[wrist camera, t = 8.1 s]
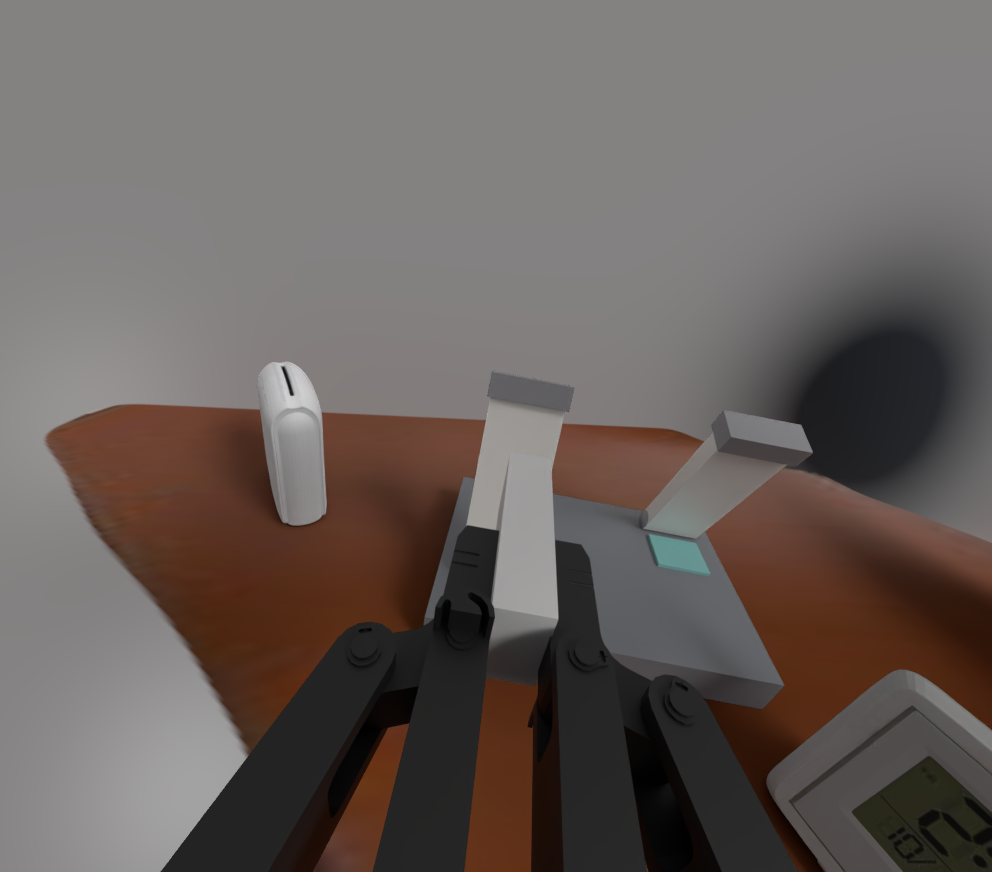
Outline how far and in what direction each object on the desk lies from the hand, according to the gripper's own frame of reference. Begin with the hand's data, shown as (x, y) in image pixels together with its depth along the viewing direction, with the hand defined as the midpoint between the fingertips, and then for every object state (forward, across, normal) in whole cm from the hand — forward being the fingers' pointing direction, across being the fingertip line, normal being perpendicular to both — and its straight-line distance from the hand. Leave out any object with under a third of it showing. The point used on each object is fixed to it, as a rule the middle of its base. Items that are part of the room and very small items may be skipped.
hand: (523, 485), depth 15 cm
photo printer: (+17, -19, -18) cm, 32 cm away
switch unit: (+12, +8, -18) cm, 24 cm away
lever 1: (+8, 0, -15) cm, 17 cm away
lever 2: (+18, +16, -16) cm, 29 cm away
